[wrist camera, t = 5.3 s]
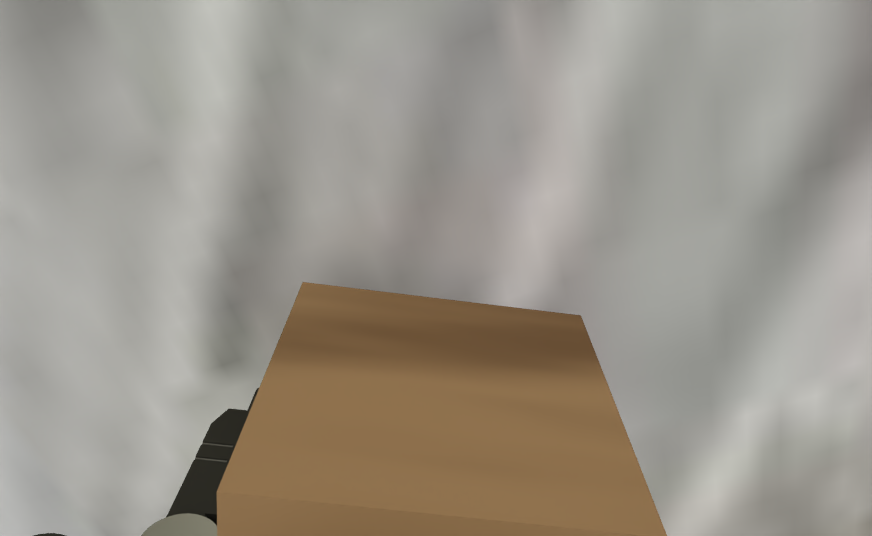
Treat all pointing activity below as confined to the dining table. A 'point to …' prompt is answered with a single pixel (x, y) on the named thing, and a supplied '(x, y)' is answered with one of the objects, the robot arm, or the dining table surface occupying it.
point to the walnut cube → (432, 426)
